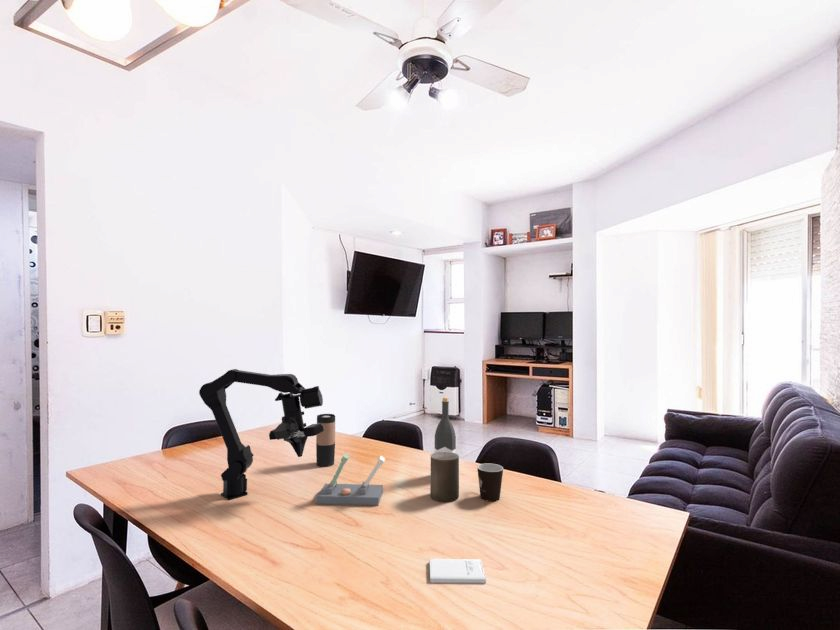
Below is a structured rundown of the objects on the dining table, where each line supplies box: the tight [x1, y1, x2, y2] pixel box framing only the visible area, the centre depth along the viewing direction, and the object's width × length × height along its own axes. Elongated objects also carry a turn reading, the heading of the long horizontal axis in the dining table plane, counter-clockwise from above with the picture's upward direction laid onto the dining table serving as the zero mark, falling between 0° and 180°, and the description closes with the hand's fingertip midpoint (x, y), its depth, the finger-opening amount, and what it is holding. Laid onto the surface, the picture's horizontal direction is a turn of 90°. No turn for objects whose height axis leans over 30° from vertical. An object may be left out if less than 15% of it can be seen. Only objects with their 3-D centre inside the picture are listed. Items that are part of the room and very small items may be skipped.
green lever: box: [327, 452, 351, 489], centre depth 141 cm, size 2×4×12 cm, turn 176°
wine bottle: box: [434, 396, 457, 454], centre depth 162 cm, size 8×8×30 cm
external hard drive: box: [428, 558, 487, 584], centre depth 98 cm, size 2×8×12 cm
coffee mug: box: [476, 462, 504, 503], centre depth 144 cm, size 12×9×10 cm
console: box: [315, 480, 384, 507], centre depth 141 cm, size 20×11×4 cm, turn 88°
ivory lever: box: [361, 455, 386, 489], centre depth 141 cm, size 2×4×12 cm
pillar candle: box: [429, 452, 460, 503], centre depth 143 cm, size 10×10×15 cm
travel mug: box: [315, 413, 336, 468], centre depth 176 cm, size 8×8×20 cm
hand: (300, 456), depth 144 cm, fingers closed
